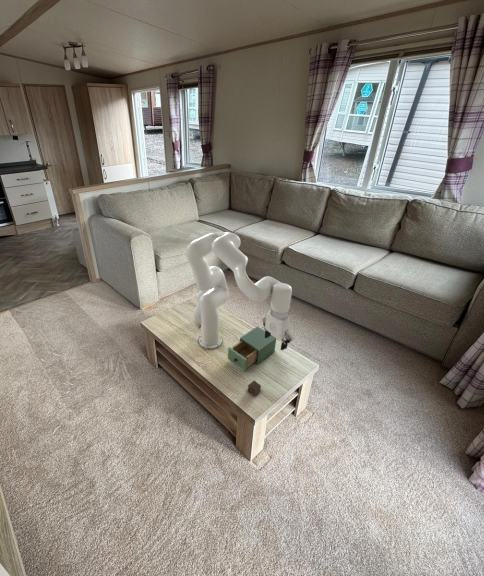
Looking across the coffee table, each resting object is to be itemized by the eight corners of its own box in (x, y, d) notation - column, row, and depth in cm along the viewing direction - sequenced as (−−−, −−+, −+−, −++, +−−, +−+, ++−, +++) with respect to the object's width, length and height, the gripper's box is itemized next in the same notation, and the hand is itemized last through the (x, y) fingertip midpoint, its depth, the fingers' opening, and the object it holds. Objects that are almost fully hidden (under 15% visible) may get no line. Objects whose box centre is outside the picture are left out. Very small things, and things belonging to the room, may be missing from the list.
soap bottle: (209, 311, 189) (209, 270, 174) (222, 319, 182) (223, 277, 166) (189, 322, 181) (186, 280, 165) (201, 332, 173) (200, 288, 157)
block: (247, 390, 137) (248, 384, 134) (253, 386, 139) (254, 380, 137) (254, 396, 134) (255, 390, 132) (260, 391, 136) (261, 385, 134)
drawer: (242, 372, 145) (243, 361, 141) (226, 359, 152) (226, 349, 148) (261, 358, 152) (262, 348, 148) (244, 347, 160) (245, 336, 156)
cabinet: (257, 364, 150) (259, 350, 145) (239, 350, 159) (239, 337, 154) (274, 351, 157) (276, 338, 153) (256, 339, 166) (257, 326, 161)
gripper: (258, 304, 129) (255, 335, 138) (289, 325, 116) (284, 357, 125) (271, 299, 132) (267, 329, 141) (302, 318, 120) (296, 350, 129)
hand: (275, 342), depth 133 cm, fingers open, 9 cm apart
